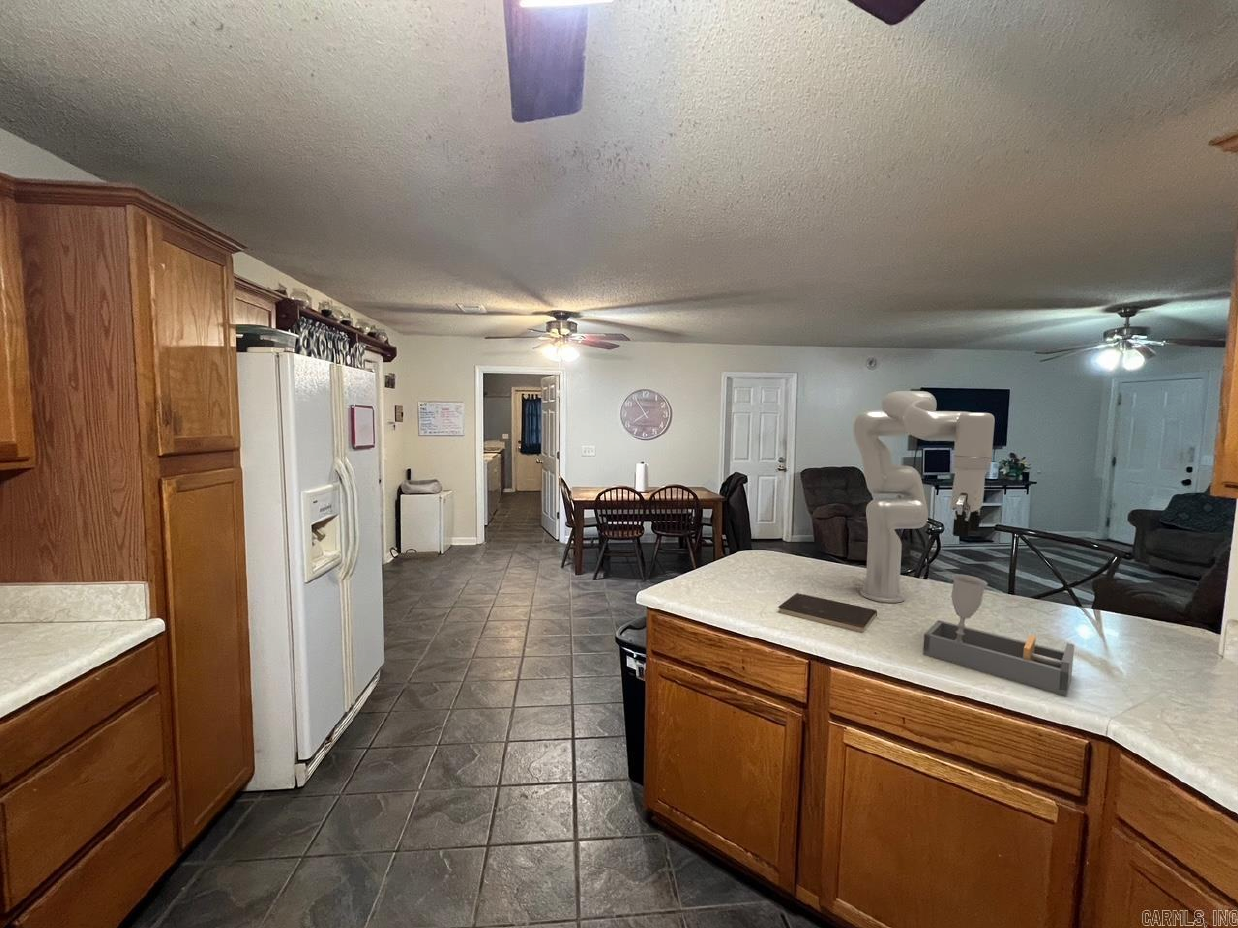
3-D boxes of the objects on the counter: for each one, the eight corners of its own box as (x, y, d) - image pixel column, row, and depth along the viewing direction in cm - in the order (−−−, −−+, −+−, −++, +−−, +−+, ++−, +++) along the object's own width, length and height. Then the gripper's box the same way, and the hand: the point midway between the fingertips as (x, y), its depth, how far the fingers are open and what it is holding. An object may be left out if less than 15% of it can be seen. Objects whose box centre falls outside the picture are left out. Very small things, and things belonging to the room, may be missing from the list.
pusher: (1021, 674, 110) (1023, 647, 110) (1027, 660, 117) (1029, 635, 116) (1059, 684, 106) (1061, 657, 105) (1063, 669, 112) (1065, 643, 112)
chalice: (980, 662, 117) (994, 587, 114) (947, 657, 118) (960, 582, 116) (965, 647, 124) (978, 576, 121) (934, 642, 125) (946, 572, 123)
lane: (922, 654, 122) (924, 625, 122) (936, 638, 131) (938, 612, 130) (1066, 696, 104) (1069, 663, 103) (1071, 675, 113) (1074, 644, 112)
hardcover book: (863, 635, 134) (863, 626, 134) (777, 614, 149) (778, 606, 148) (876, 617, 147) (877, 609, 147) (797, 599, 161) (797, 592, 161)
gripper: (962, 460, 132) (957, 525, 133) (943, 464, 120) (938, 536, 122) (998, 462, 126) (992, 530, 128) (982, 467, 114) (975, 542, 116)
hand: (965, 533), depth 125 cm, fingers open, 9 cm apart
